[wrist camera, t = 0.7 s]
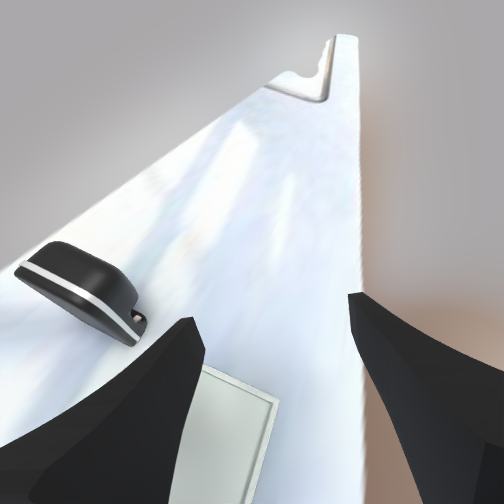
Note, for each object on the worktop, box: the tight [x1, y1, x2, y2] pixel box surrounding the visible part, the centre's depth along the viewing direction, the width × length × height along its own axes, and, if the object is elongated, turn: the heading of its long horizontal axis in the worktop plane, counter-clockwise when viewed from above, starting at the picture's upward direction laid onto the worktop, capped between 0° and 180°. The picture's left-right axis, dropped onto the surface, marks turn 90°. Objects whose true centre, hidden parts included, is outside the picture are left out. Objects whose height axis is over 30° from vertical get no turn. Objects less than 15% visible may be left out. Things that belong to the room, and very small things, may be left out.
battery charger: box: [14, 241, 147, 346], centre depth 21 cm, size 7×4×11 cm, turn 66°
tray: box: [168, 364, 280, 504], centre depth 20 cm, size 12×12×2 cm
